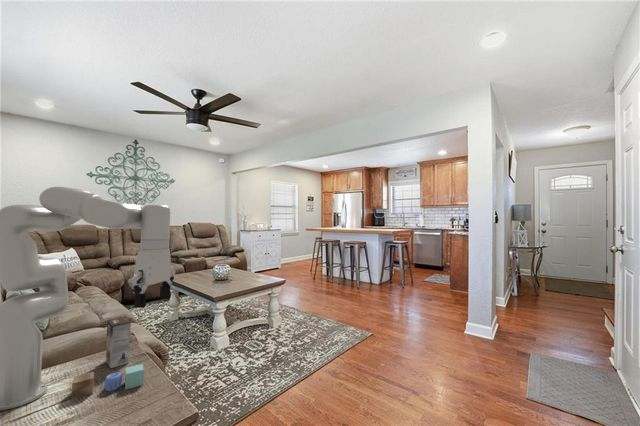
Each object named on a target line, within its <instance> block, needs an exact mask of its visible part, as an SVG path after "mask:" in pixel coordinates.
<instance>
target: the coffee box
mask: <svg viewBox="0 0 640 426" xmlns="http://www.w3.org/2000/svg"><path fill="white" fill-rule="evenodd" d="M106 323H107V325H106V326H107V327H106V347H105V348H106V349H105V350H106V352H105V361H106V364H107V365H108V367H109V369H114V368H116V367H120V366H123V365H126V364H130V351H131V350H130V349H131V348H130V347H131V344H130V341H131V328H132V327H131V323H132V322H131V321H130V319H129V318H128V317H127V316H121V317H116V318H112V319H111V318H110V319H108V320H107V322H106Z"/></svg>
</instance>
